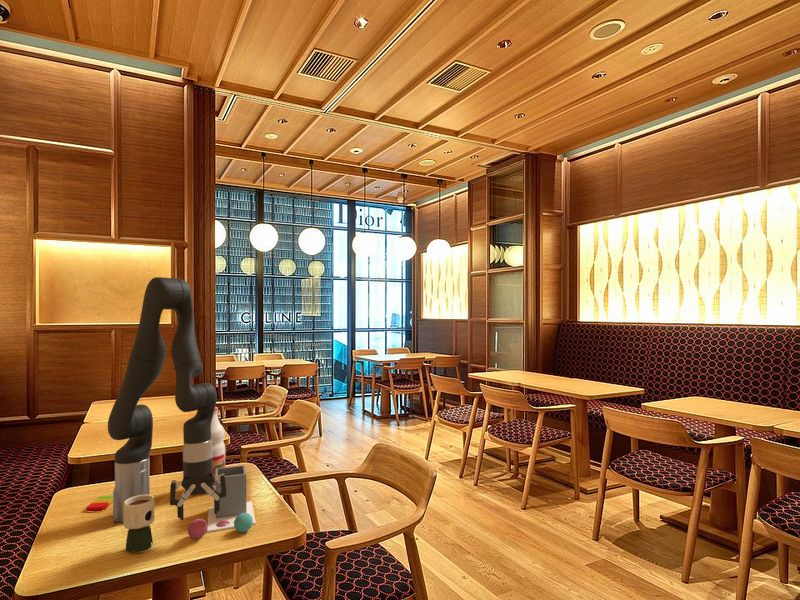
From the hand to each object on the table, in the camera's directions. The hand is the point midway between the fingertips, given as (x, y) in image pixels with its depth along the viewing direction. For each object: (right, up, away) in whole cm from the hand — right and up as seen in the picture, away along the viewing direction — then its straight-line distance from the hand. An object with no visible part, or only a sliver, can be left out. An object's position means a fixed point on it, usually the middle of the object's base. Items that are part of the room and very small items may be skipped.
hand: (199, 515), depth 129 cm
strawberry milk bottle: (-11, -7, +35) cm, 37 cm away
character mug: (-13, -6, -6) cm, 16 cm away
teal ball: (+11, -3, +3) cm, 12 cm away
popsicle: (-41, -7, +24) cm, 48 cm away
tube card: (+4, -6, +13) cm, 15 cm away
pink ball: (0, -4, 0) cm, 4 cm away
